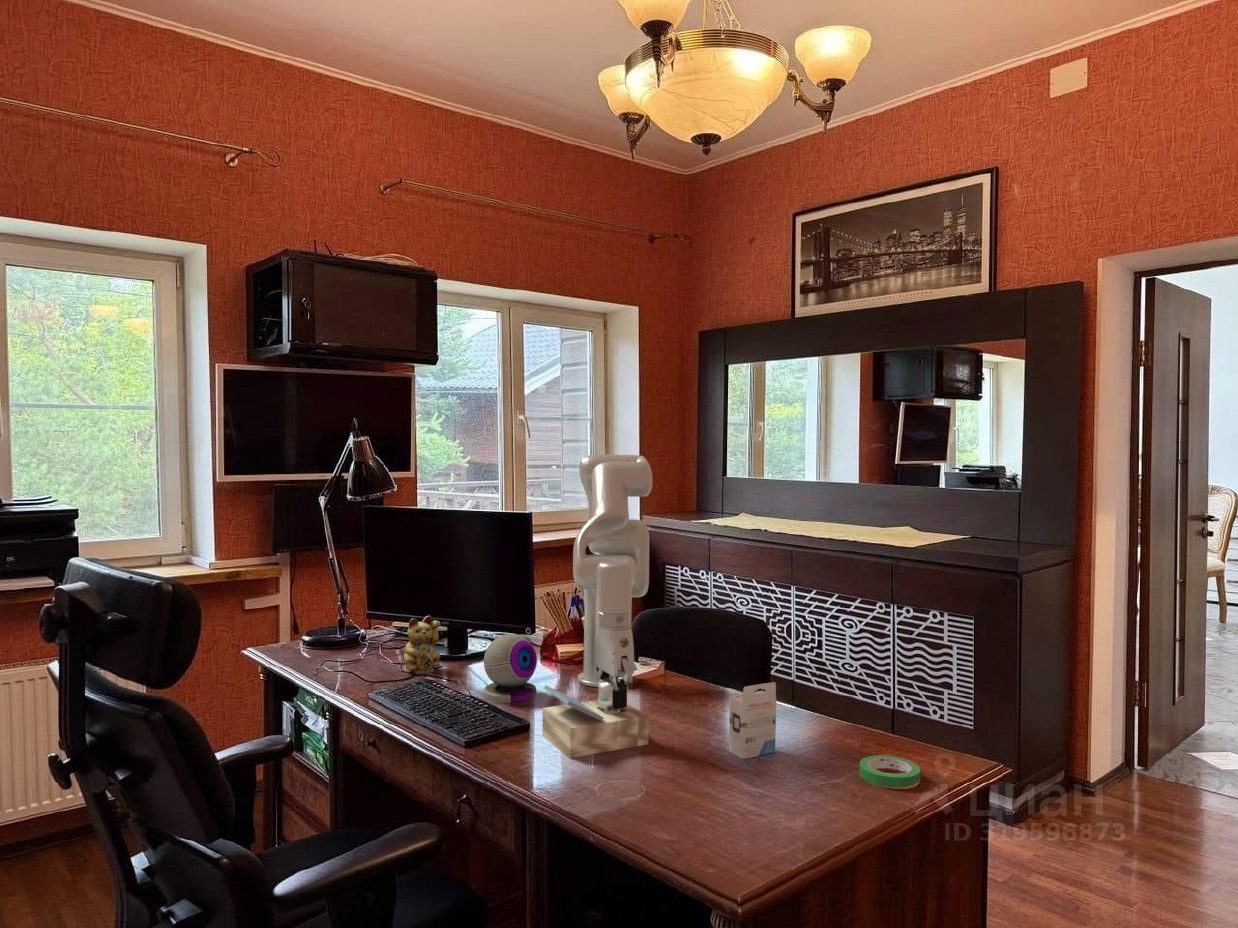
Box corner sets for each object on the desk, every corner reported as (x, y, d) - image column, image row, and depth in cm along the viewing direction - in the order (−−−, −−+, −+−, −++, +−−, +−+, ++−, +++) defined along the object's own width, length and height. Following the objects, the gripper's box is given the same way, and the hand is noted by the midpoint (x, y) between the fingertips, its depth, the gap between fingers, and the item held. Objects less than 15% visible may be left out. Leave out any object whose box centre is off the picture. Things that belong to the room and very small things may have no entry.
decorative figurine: (410, 676, 224) (411, 620, 224) (397, 669, 230) (397, 614, 230) (444, 671, 230) (444, 615, 230) (430, 664, 237) (430, 610, 236)
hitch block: (616, 723, 191) (617, 697, 191) (648, 744, 178) (648, 715, 178) (542, 735, 182) (542, 707, 182) (570, 758, 170) (570, 728, 170)
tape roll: (849, 778, 163) (849, 765, 163) (875, 763, 171) (875, 750, 171) (904, 796, 155) (905, 782, 155) (929, 779, 164) (930, 765, 163)
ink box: (761, 745, 179) (763, 675, 179) (776, 753, 175) (777, 681, 174) (727, 751, 175) (729, 680, 175) (741, 759, 171) (743, 686, 170)
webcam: (509, 706, 202) (510, 643, 201) (472, 695, 209) (472, 634, 209) (546, 693, 212) (547, 633, 211) (509, 683, 220) (510, 626, 219)
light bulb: (617, 724, 186) (618, 676, 186) (630, 733, 181) (631, 684, 181) (592, 728, 184) (593, 680, 183) (605, 737, 178) (606, 687, 178)
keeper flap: (576, 704, 185) (578, 700, 185) (601, 721, 174) (603, 717, 174) (543, 688, 181) (545, 684, 181) (567, 704, 170) (569, 700, 170)
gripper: (649, 626, 176) (647, 712, 176) (610, 610, 191) (609, 689, 191) (617, 629, 172) (615, 717, 173) (580, 612, 187) (578, 694, 188)
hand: (612, 702), depth 182 cm, fingers closed on light bulb, 5 cm apart
